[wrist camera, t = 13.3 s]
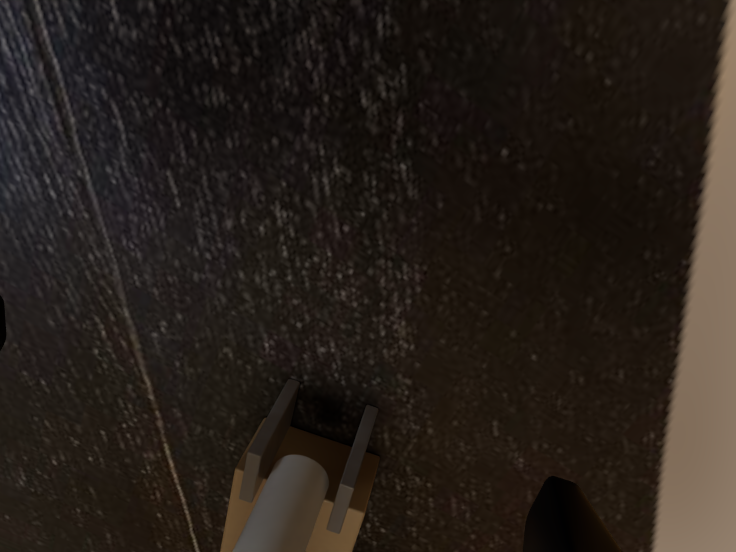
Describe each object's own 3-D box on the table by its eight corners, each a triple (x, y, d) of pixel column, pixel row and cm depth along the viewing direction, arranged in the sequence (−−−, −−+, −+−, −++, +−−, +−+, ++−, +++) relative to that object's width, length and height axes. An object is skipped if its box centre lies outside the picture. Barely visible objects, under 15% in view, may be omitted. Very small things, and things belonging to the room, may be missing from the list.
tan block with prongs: (395, 413, 23) (373, 495, 19) (353, 536, 26) (328, 626, 23) (272, 372, 23) (228, 445, 20) (247, 499, 27) (205, 581, 23)
